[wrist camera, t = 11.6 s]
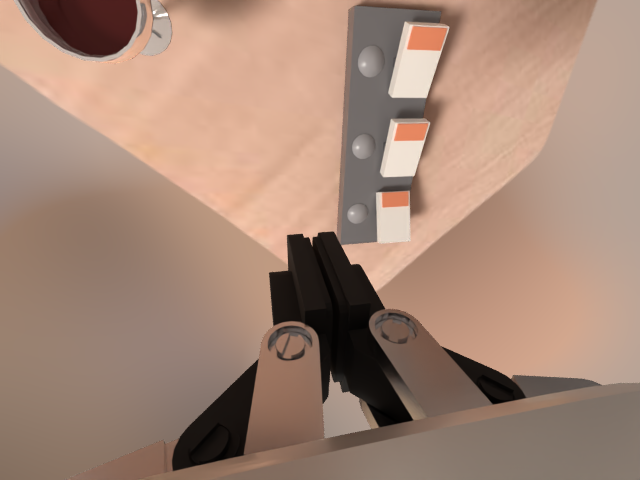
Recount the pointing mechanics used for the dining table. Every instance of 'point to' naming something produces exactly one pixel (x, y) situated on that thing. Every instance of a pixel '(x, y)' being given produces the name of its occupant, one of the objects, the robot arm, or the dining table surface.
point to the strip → (371, 115)
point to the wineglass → (100, 27)
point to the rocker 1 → (393, 216)
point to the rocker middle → (404, 147)
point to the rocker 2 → (417, 59)
